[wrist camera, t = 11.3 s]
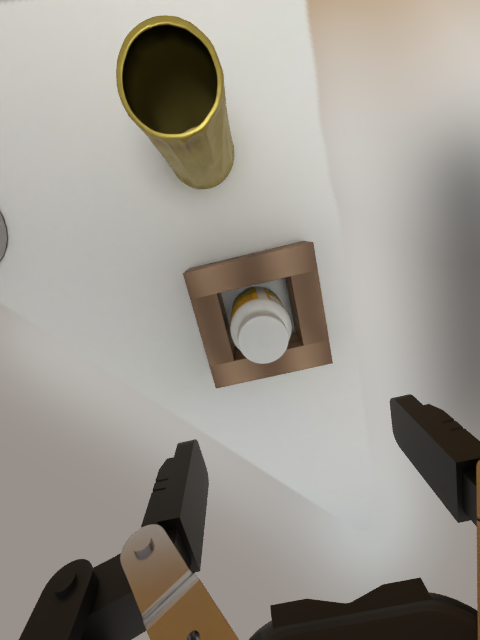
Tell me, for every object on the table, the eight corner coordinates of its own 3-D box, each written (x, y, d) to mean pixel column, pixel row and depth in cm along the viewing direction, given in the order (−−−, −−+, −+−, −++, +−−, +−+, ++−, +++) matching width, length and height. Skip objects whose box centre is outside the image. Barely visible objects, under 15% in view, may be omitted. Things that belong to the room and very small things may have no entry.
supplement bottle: (283, 287, 32) (303, 309, 23) (278, 335, 33) (294, 374, 24) (233, 283, 32) (232, 304, 23) (229, 332, 33) (227, 369, 24)
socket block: (218, 371, 34) (216, 388, 31) (189, 268, 31) (183, 273, 27) (321, 348, 34) (332, 363, 30) (303, 241, 31) (313, 242, 27)
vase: (243, 175, 29) (249, 123, 15) (183, 198, 29) (138, 168, 16) (220, 106, 27) (204, -23, 14) (158, 131, 28) (82, 32, 14)
